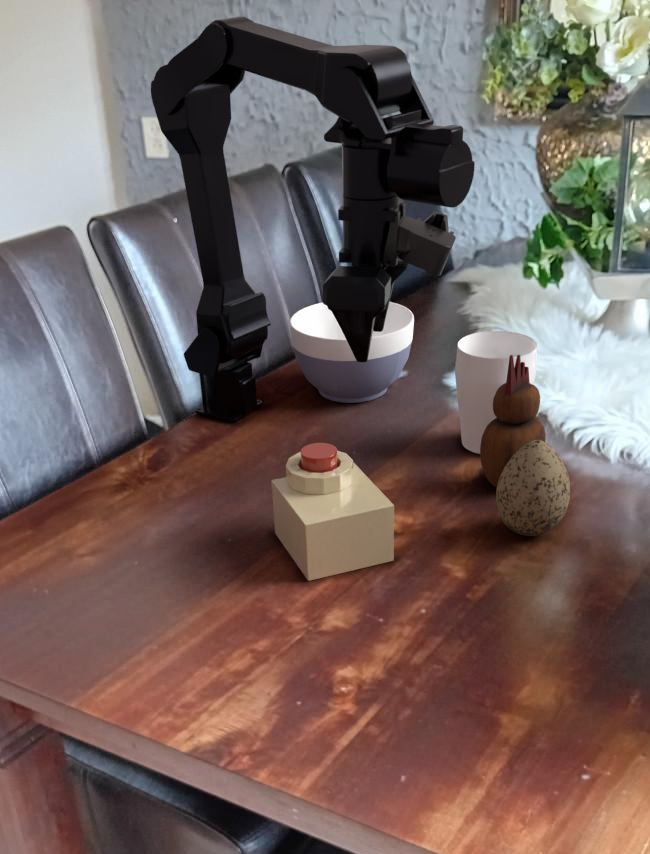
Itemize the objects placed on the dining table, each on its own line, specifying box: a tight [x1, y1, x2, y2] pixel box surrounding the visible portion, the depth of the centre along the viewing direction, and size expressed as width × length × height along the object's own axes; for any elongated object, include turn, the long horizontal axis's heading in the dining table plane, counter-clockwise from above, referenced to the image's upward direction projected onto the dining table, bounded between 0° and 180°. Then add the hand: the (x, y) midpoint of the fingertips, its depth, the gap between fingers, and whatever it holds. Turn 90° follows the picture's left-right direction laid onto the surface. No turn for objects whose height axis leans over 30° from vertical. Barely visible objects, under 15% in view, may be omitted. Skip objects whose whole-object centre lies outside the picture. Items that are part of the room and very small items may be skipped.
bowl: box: [289, 301, 415, 404], centre depth 131 cm, size 16×16×10 cm
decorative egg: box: [495, 440, 571, 537], centre depth 99 cm, size 7×7×10 cm
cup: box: [454, 330, 538, 455], centre depth 115 cm, size 9×9×12 cm
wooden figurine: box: [479, 355, 547, 488], centre depth 106 cm, size 7×6×15 cm
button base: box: [270, 450, 395, 582], centre depth 99 cm, size 11×9×8 cm
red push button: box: [300, 442, 338, 473], centre depth 99 cm, size 4×4×2 cm
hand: (370, 345), depth 110 cm, fingers open, 9 cm apart
